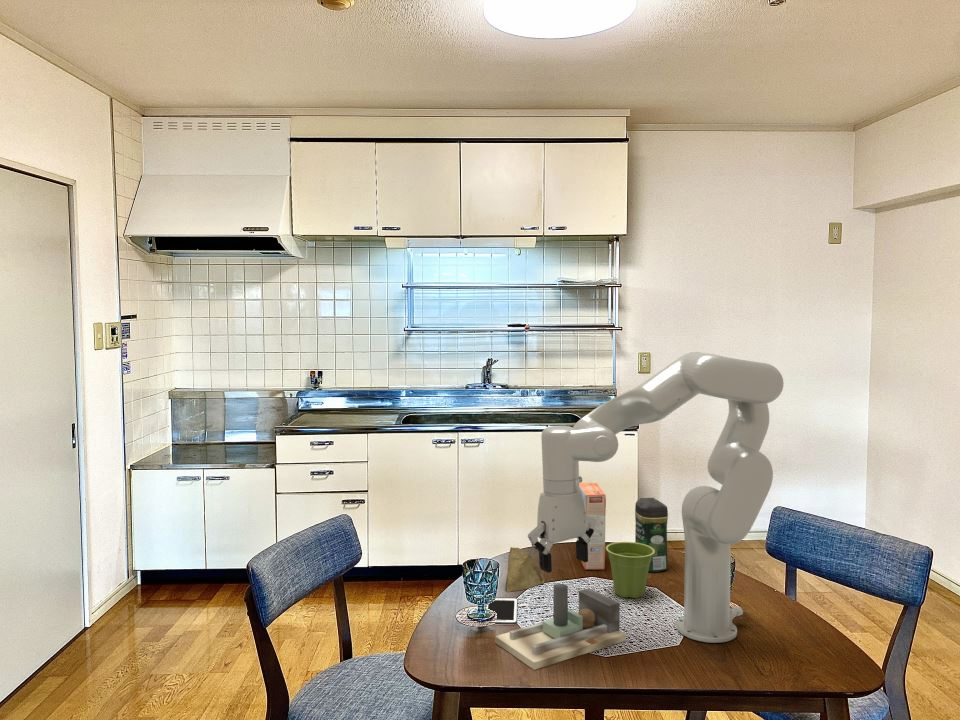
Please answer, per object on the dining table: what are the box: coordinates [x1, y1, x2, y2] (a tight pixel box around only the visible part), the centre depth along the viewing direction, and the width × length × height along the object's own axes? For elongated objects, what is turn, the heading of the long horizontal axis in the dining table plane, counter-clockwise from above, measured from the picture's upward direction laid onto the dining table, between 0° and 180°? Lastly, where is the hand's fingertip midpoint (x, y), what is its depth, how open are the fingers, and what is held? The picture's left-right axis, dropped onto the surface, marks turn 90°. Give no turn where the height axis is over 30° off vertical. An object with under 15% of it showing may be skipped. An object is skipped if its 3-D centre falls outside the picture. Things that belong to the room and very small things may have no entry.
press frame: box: [494, 587, 627, 671], centre depth 157 cm, size 24×14×8 cm, turn 122°
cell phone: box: [487, 596, 519, 625], centre depth 173 cm, size 8×15×1 cm, turn 176°
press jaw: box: [542, 583, 583, 639], centre depth 157 cm, size 6×6×10 cm
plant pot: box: [605, 541, 655, 599], centre depth 183 cm, size 12×12×11 cm
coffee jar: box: [634, 497, 669, 573], centre depth 202 cm, size 10×8×19 cm
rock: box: [505, 546, 545, 593], centre depth 188 cm, size 11×9×10 cm
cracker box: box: [576, 482, 607, 571], centre depth 206 cm, size 14×6×21 cm, turn 1°
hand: (564, 565), depth 156 cm, fingers open, 9 cm apart
